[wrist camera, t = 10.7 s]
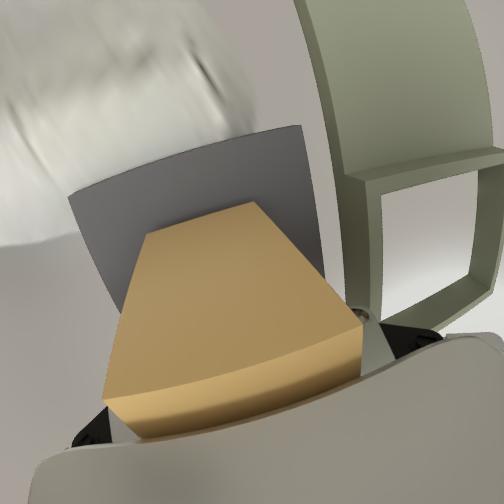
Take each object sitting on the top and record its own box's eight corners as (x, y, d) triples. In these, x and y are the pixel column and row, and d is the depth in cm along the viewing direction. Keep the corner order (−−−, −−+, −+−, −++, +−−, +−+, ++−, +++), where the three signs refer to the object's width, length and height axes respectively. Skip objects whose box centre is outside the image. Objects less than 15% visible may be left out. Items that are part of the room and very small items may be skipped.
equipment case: (451, -3, 10) (478, -8, 7) (470, 283, 21) (490, 298, 19) (279, -40, 9) (298, -67, 6) (346, 349, 20) (365, 376, 17)
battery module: (253, 201, 11) (388, 356, 4) (283, 330, 14) (357, 480, 7) (146, 234, 11) (95, 437, 3) (200, 356, 14) (228, 519, 6)
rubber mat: (293, 125, 13) (301, 124, 12) (323, 319, 18) (329, 328, 17) (75, 192, 12) (67, 197, 11) (162, 369, 17) (161, 380, 16)
